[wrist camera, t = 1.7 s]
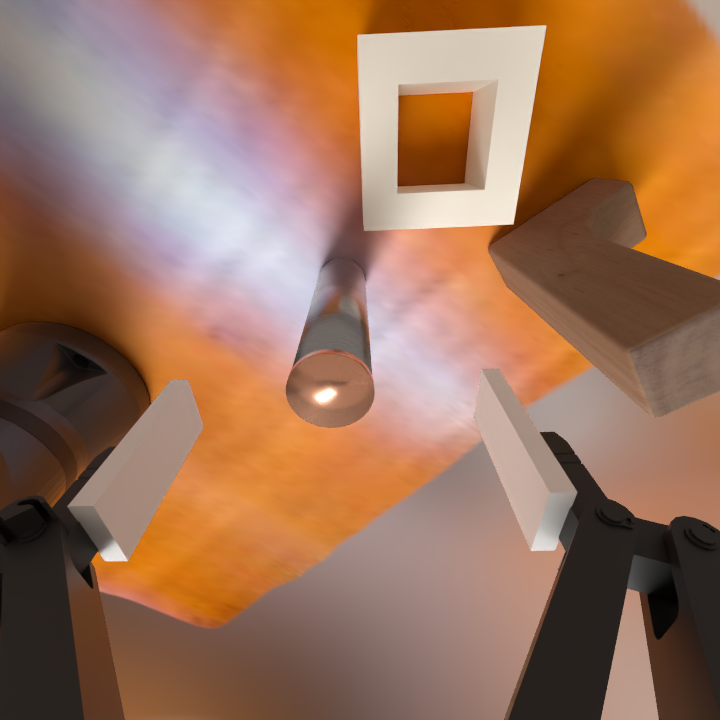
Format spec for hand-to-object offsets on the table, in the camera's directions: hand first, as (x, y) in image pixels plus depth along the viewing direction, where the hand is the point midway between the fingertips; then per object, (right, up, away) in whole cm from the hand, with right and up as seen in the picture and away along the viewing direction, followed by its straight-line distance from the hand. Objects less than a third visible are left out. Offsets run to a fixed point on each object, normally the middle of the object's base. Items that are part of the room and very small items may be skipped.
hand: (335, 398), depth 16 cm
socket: (+6, +17, +9) cm, 21 cm away
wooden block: (+16, +12, +13) cm, 24 cm away
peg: (0, +9, +15) cm, 17 cm away
